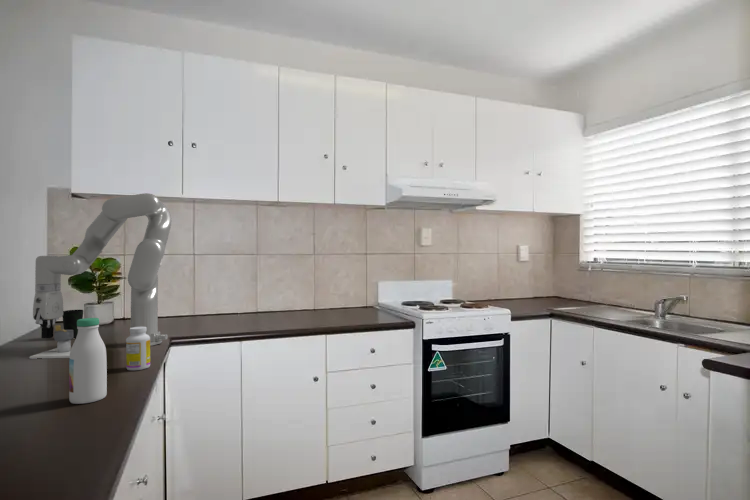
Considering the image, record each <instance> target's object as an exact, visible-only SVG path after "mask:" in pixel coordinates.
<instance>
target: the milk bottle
mask: <svg viewBox="0 0 750 500" xmlns="http://www.w3.org/2000/svg"><path fill="white" fill-rule="evenodd" d="M99 328H100V319H99V318H98V317H88V318H87V317H85V318H84V317H83V319H79V320H77V329H78V334H77V337H76V339H74V342H73V344H72V345H71V347H72V348H71V351H70V358H68V359H69V360H68V361H69V363H68V364H69V365H68V366H69V367H68V368H69V369H68V379H69V380H68V383H69V384H68V386H69V388H68V389H69V390H68V397H69V399H68V400H69V402H70V403H71V404H73V405H74V404H75V405H78V404H79V405H80V404H83V405H84V404H89V403H90V404H91V403H94V402H98V401H100V400H103V399H104V398H106V397H107V396H108V395H107V394H108V391H107V389H108V387H107V384H108V381H107V380H108V378H107V377H108V375H107V374H108V373H107V371H108V370H107V369H108V366H107V365H108V362H107V348H106V344H105V343H104V341H103V339H102V337H101V335H100V332H99Z"/></svg>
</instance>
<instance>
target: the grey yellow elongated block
mask: <svg viewBox="0 0 750 500" xmlns="http://www.w3.org/2000/svg"><path fill="white" fill-rule="evenodd" d="M53 339H54V341H56V342H57V341H62V340H70V339H71V340H74V339H73V330H64V328H63V329H62V326H61V324H55V326H54V331H53Z"/></svg>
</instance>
